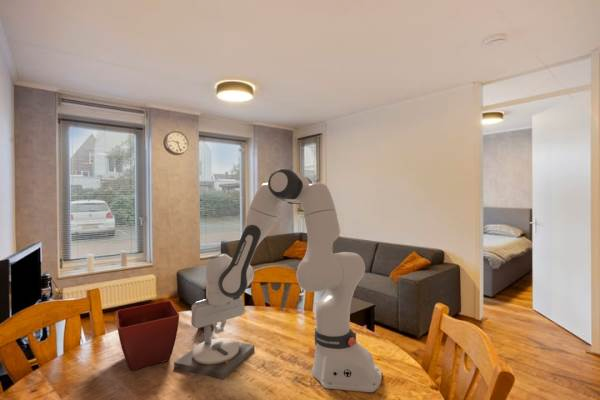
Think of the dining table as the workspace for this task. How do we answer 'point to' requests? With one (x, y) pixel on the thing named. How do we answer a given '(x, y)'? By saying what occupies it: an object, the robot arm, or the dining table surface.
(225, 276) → the robot arm
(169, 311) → the plant pot
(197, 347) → the dial
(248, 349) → the dial base
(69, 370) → the dining table surface
